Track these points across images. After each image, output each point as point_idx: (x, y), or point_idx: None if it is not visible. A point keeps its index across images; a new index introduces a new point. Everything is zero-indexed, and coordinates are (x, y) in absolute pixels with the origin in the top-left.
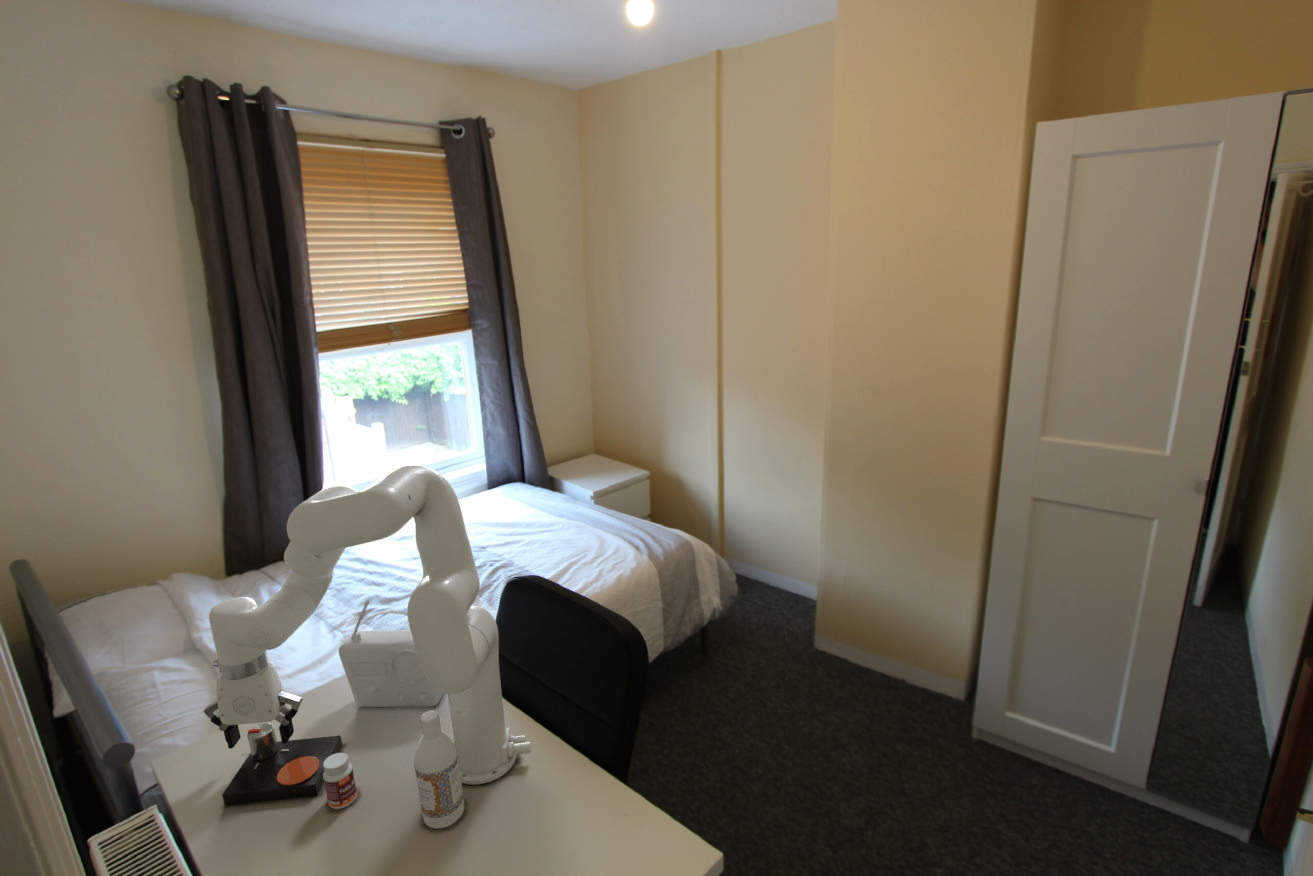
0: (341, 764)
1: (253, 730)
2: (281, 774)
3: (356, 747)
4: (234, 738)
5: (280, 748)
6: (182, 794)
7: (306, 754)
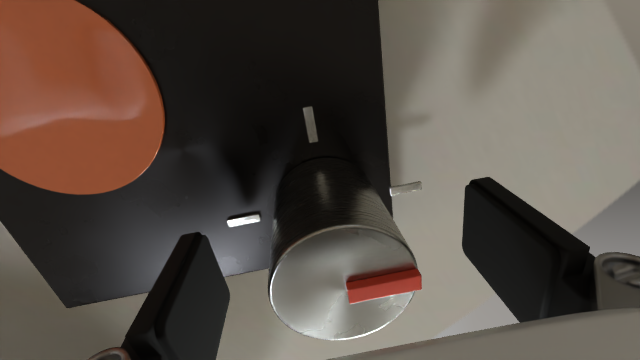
0: None
1: (387, 286)
2: (124, 69)
3: (34, 270)
4: (486, 230)
5: None
6: (576, 6)
7: (119, 206)
